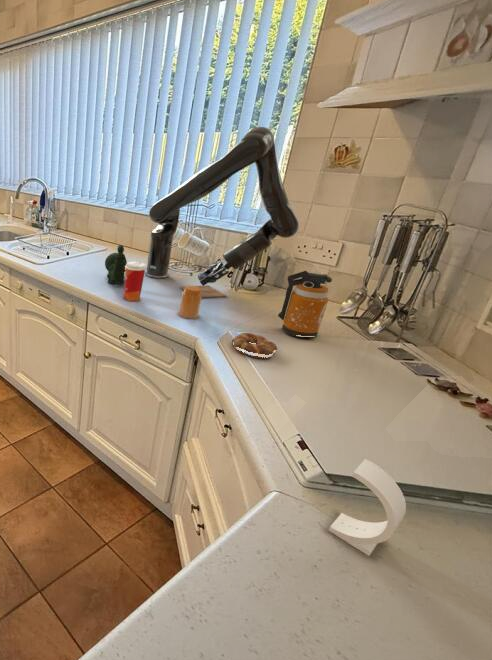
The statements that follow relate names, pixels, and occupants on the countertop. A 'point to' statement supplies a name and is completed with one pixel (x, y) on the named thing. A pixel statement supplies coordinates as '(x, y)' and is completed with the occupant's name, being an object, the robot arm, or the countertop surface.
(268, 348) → the pretzel
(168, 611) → the countertop surface
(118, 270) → the toy figurine
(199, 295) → the jar
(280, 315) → the canister
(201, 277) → the lid
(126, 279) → the paper cup
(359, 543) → the headphone stand
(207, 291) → the mat
